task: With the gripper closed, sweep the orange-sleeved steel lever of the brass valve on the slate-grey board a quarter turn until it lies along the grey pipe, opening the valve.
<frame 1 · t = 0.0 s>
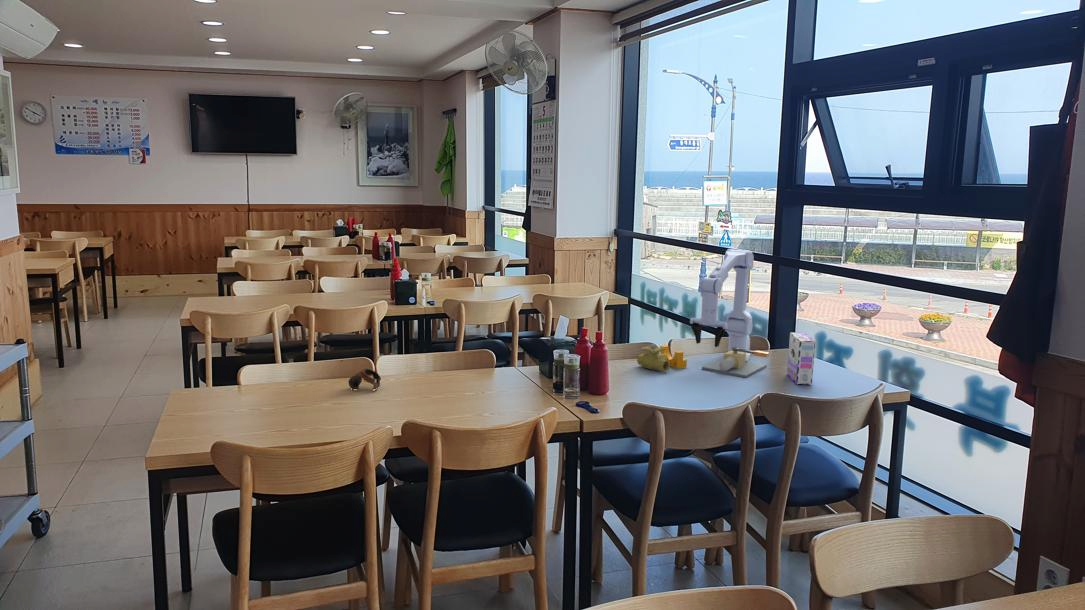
hand: (707, 344, 309), 10 cm above the table, tool pointing down, fingers open, 7 cm apart
ball valve: (655, 369, 313), on the table
valve base: (734, 368, 315), on the table
valve lever: (750, 351, 310), point 8 cm above the table, hinge at 90.0°
pipe clamp: (672, 365, 319), on the table
brown arched figurine: (363, 391, 281), on the table
candy box: (799, 380, 301), on the table
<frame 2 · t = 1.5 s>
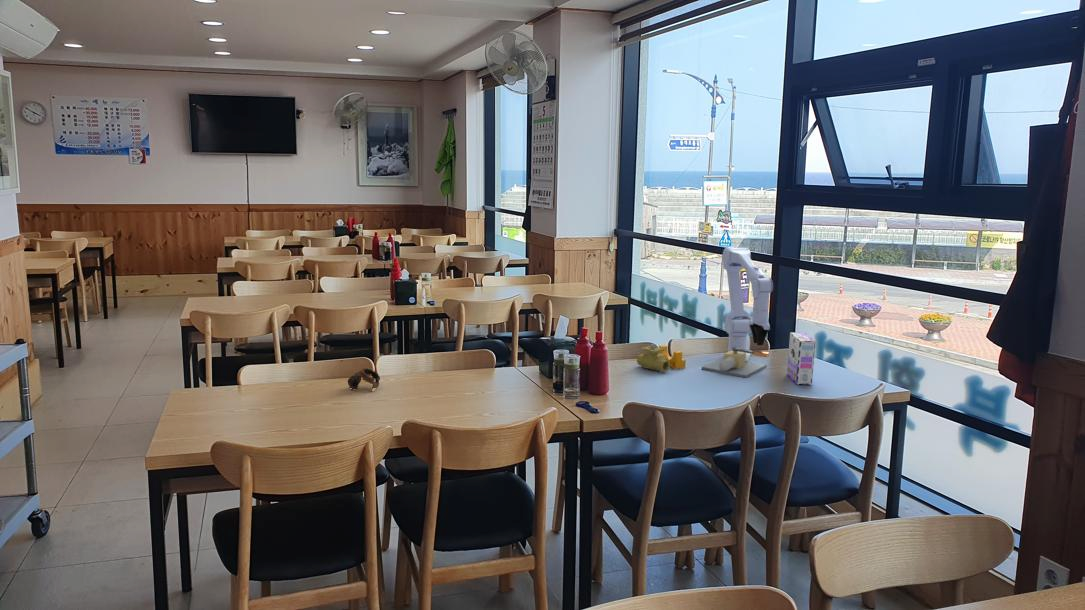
hand: (758, 344, 314), 9 cm above the table, tool pointing down, fingers open, 3 cm apart
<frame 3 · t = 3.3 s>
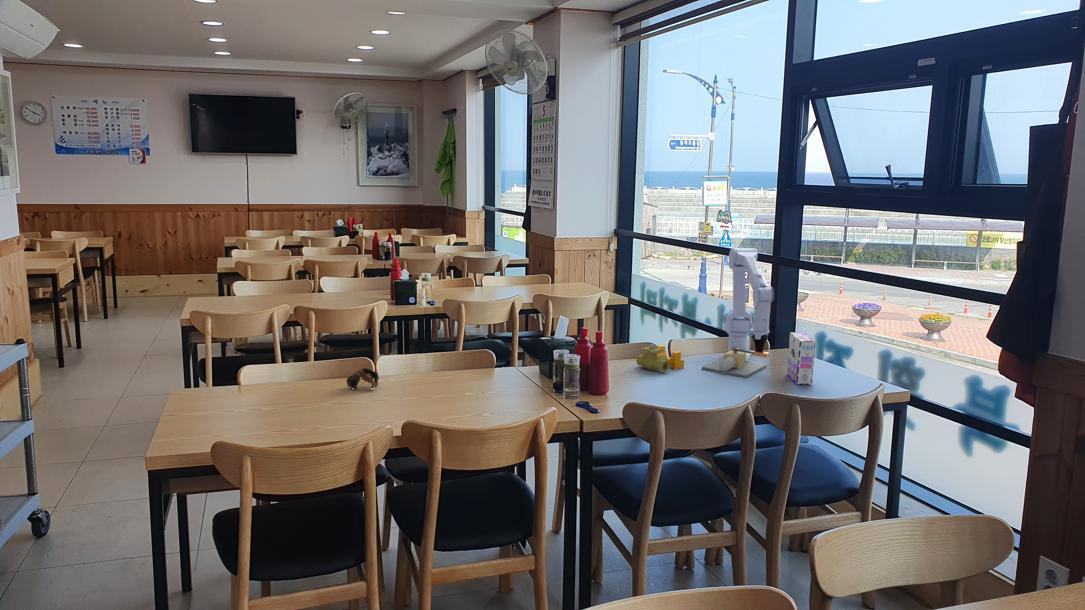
hand: (759, 353, 310), 7 cm above the table, tool pointing down, fingers closed
valve lever: (749, 351, 310), point 8 cm above the table, hinge at 89.1°, touching gripper
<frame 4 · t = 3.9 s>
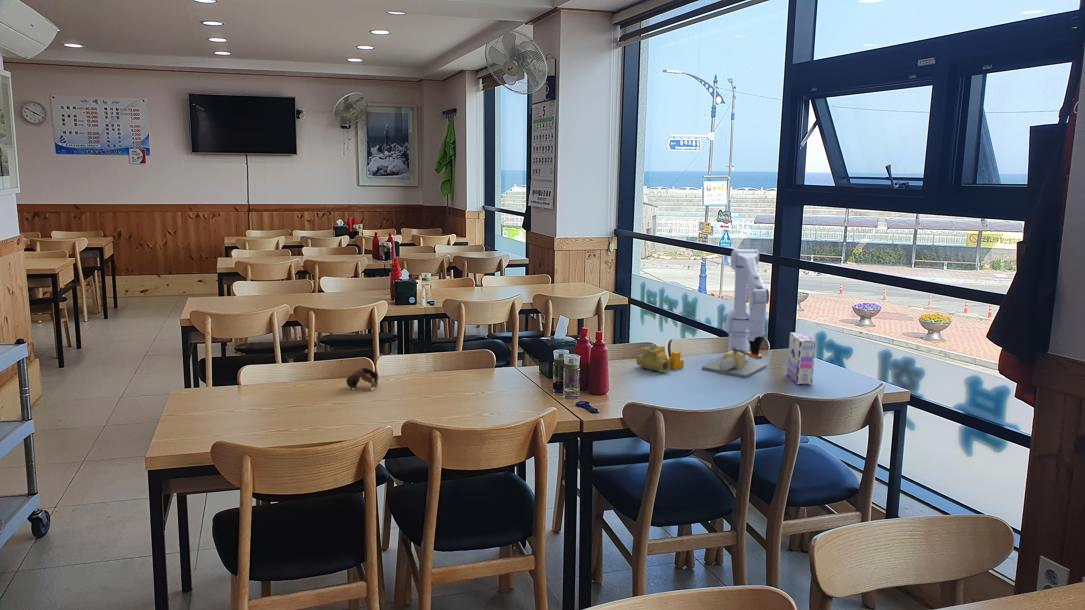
hand: (754, 355, 307), 7 cm above the table, tool pointing down, fingers closed, pressing on valve lever
valve lever: (746, 352, 308), point 8 cm above the table, hinge at 65.7°, touching gripper
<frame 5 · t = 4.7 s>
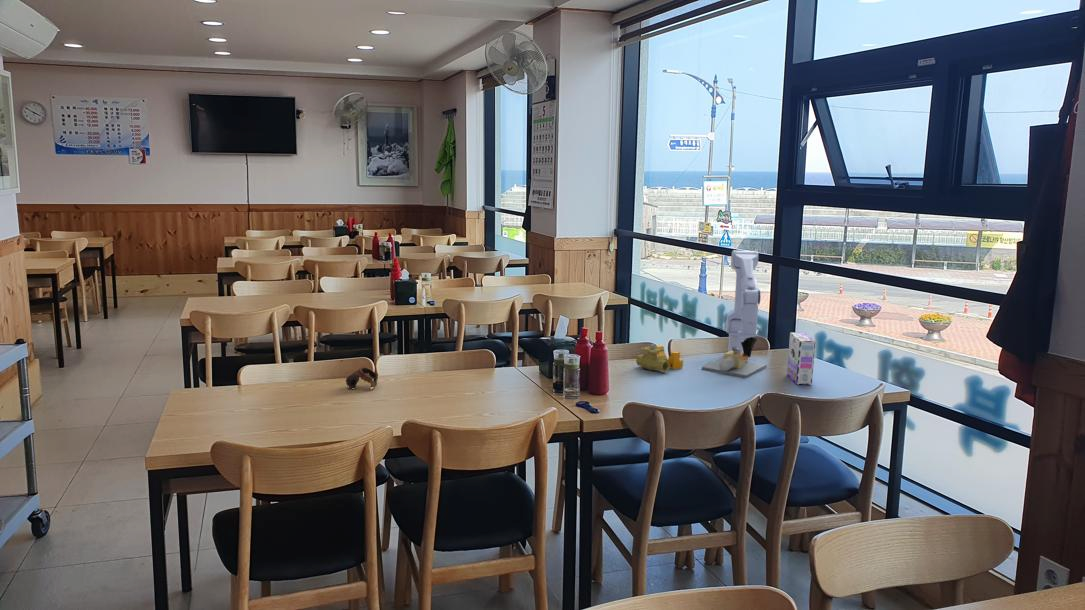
hand: (746, 356, 305), 7 cm above the table, tool pointing down, fingers closed, pressing on valve lever
valve lever: (739, 353, 308), point 8 cm above the table, hinge at 39.8°, touching gripper
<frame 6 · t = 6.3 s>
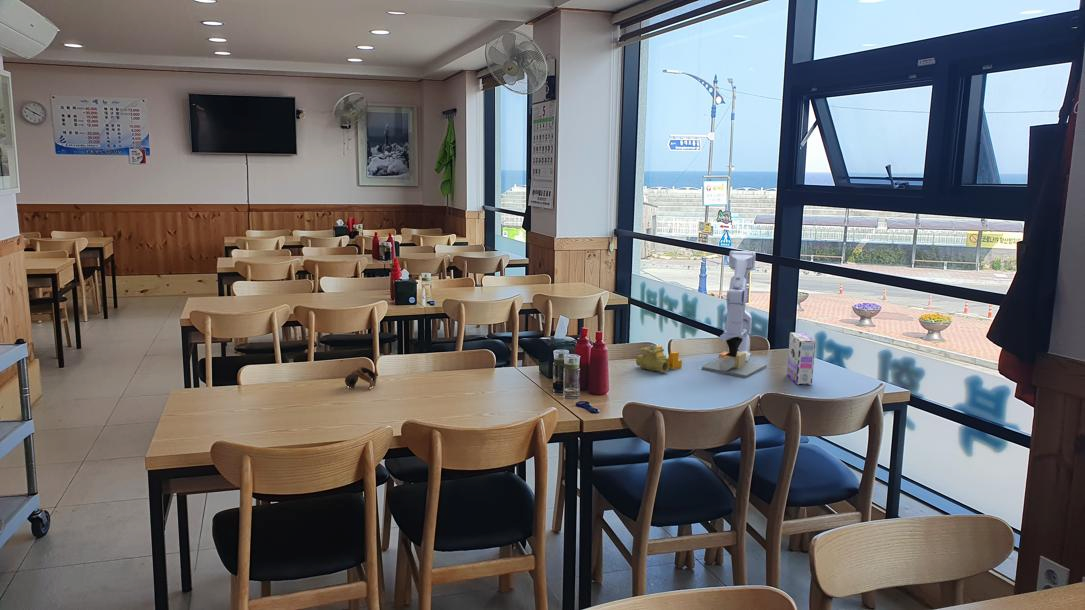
hand: (732, 356, 306), 7 cm above the table, tool pointing down, fingers closed, pressing on valve lever
valve lever: (729, 352, 309), point 8 cm above the table, hinge at 1.9°, touching gripper
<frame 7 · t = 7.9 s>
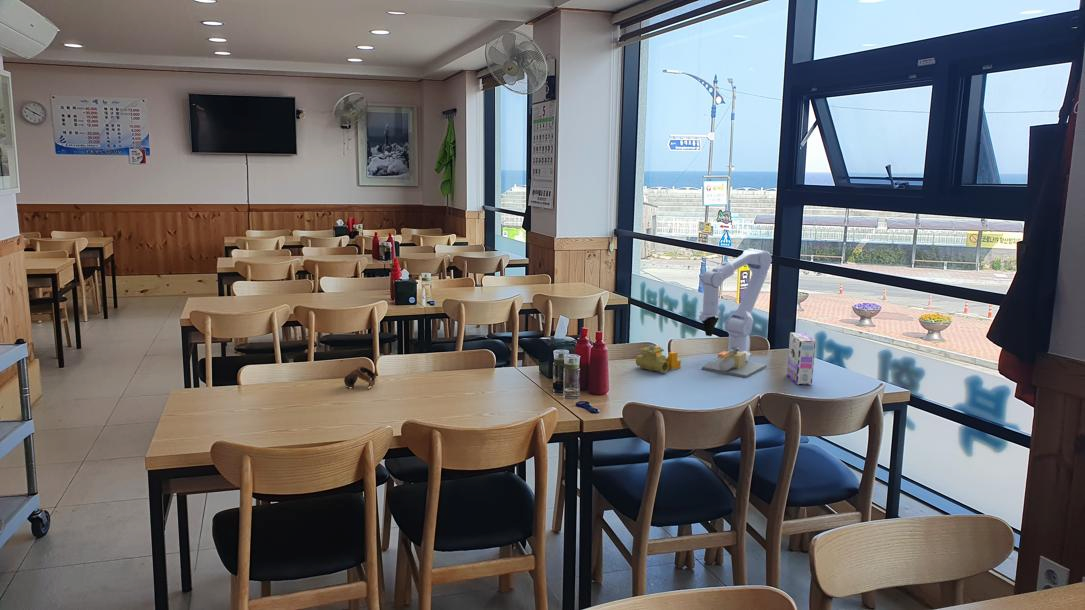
hand: (708, 335, 322), 10 cm above the table, tool pointing down, fingers closed
valve lever: (728, 352, 309), point 8 cm above the table, hinge at -0.3°
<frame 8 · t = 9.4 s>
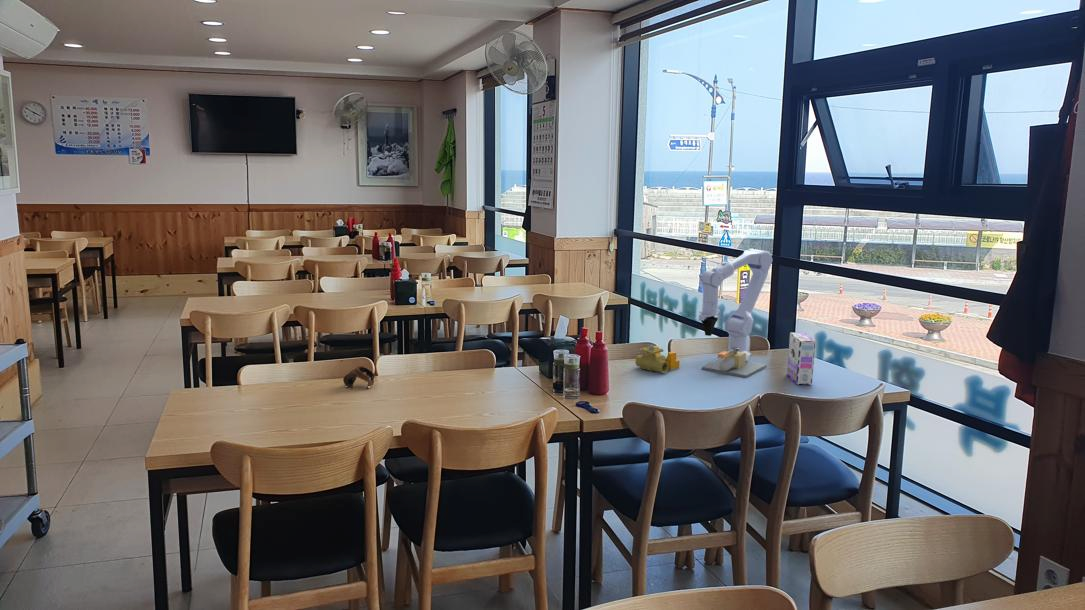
hand: (708, 335, 323), 10 cm above the table, tool pointing down, fingers closed
at the end: valve lever at +0° (first picture: +90°); pipe clamp moved 4.0 cm from its start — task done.
